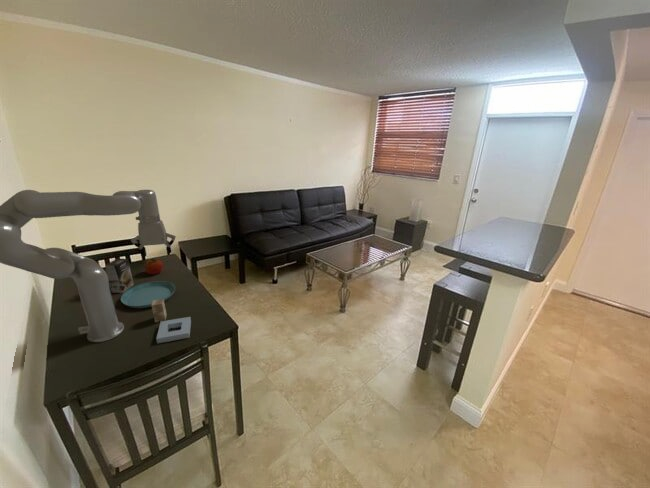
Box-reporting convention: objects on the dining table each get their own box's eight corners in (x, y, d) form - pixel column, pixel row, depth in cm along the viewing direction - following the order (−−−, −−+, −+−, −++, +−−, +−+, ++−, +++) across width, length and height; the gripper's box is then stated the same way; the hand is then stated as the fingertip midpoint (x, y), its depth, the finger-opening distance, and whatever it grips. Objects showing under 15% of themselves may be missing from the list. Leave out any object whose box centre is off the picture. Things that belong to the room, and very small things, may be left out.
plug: (155, 322, 128) (151, 305, 125) (156, 317, 132) (153, 300, 128) (165, 320, 129) (162, 303, 126) (166, 315, 133) (163, 299, 130)
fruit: (162, 268, 178) (159, 253, 175) (165, 273, 172) (163, 258, 168) (144, 272, 173) (141, 257, 169) (147, 278, 166) (144, 262, 162)
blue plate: (117, 296, 147) (115, 290, 146) (167, 282, 163) (166, 277, 162) (128, 317, 131) (126, 311, 130) (182, 299, 147) (181, 293, 146)
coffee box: (123, 293, 149) (116, 265, 144) (111, 292, 149) (104, 265, 144) (134, 284, 158) (128, 258, 152) (123, 284, 158) (116, 258, 152)
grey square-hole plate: (157, 343, 115) (156, 338, 114) (161, 326, 126) (160, 321, 125) (189, 337, 119) (188, 332, 119) (191, 321, 130) (190, 316, 129)
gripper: (124, 222, 115) (132, 260, 122) (171, 220, 121) (177, 256, 127) (129, 217, 122) (137, 253, 128) (173, 215, 128) (179, 250, 134)
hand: (157, 255), depth 128 cm, fingers open, 9 cm apart
